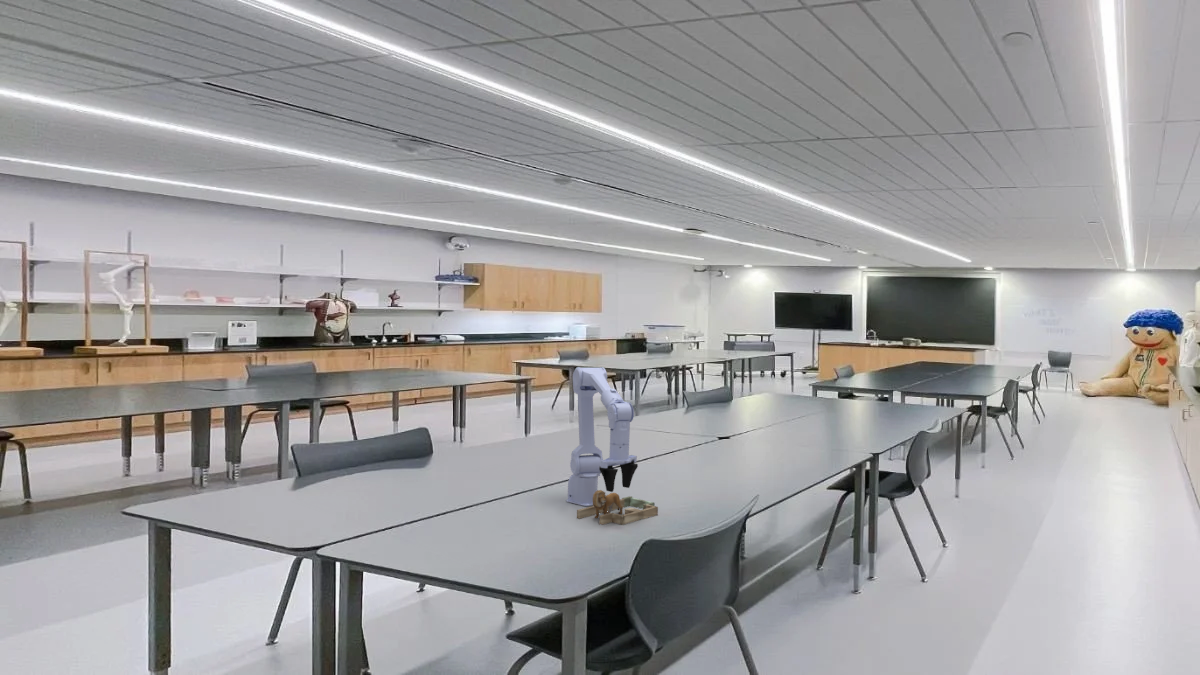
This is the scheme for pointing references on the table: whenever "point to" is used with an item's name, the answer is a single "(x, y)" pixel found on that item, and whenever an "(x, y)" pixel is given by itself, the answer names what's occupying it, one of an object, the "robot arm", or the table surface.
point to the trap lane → (630, 513)
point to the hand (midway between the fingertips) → (618, 489)
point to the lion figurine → (605, 502)
